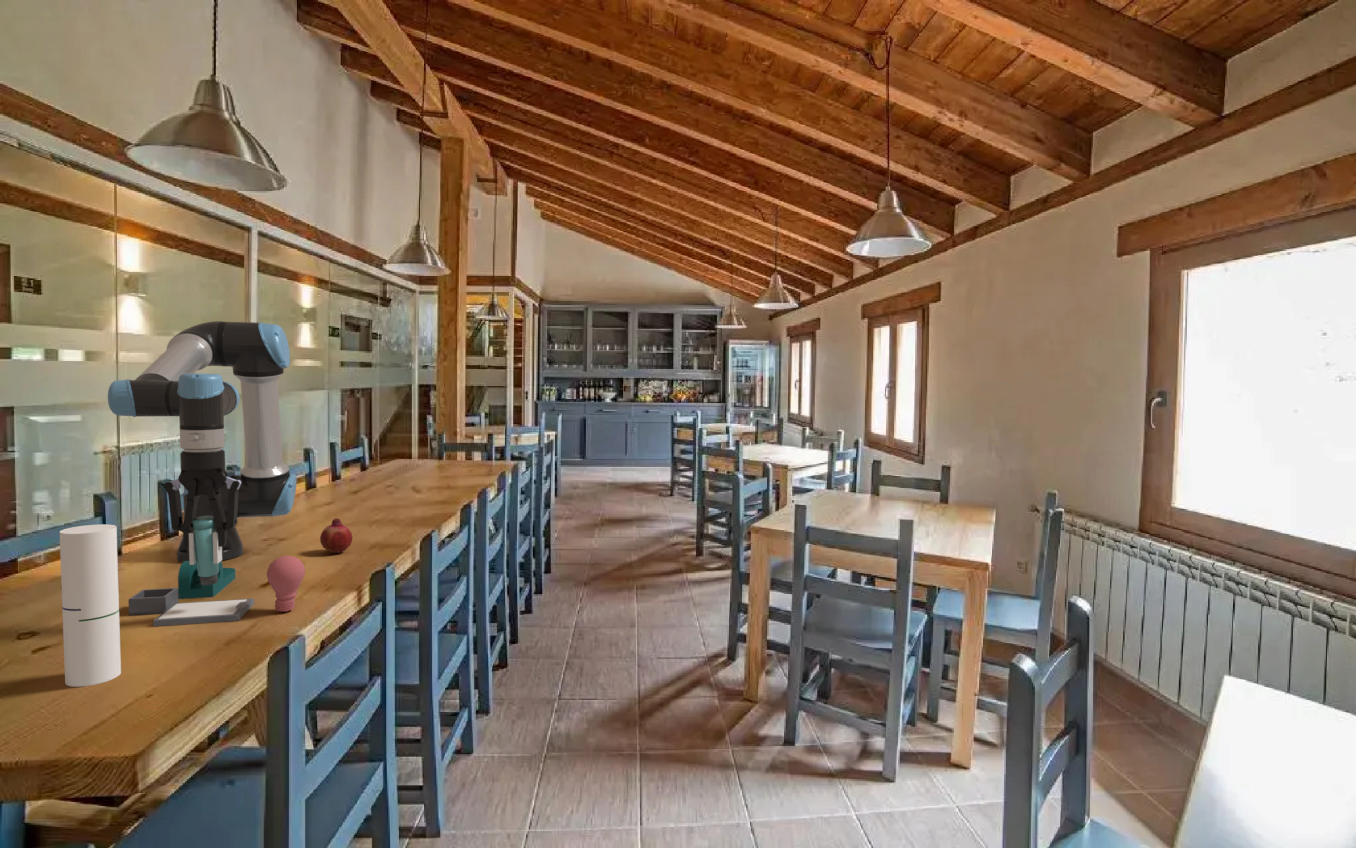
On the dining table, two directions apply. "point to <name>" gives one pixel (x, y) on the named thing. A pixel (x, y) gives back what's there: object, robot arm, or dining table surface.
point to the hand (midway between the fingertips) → (206, 562)
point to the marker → (205, 549)
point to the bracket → (192, 584)
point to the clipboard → (204, 612)
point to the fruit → (336, 537)
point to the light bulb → (285, 580)
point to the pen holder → (152, 601)
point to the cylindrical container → (90, 604)
